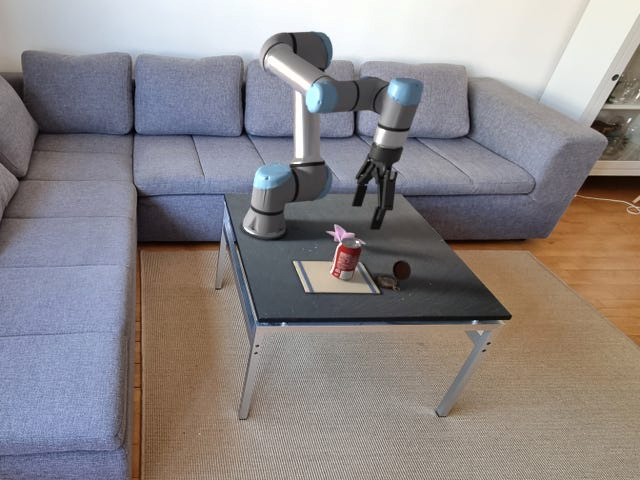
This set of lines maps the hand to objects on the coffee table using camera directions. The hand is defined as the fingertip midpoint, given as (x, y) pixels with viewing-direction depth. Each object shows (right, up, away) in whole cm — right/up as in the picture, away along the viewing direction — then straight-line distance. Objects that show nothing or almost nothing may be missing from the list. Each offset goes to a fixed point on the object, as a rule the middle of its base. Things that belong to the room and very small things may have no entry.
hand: (364, 217), depth 126 cm
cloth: (-4, -17, +12) cm, 21 cm away
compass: (+12, -20, +9) cm, 25 cm away
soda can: (-2, -17, +12) cm, 21 cm away
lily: (+3, -8, +24) cm, 26 cm away
